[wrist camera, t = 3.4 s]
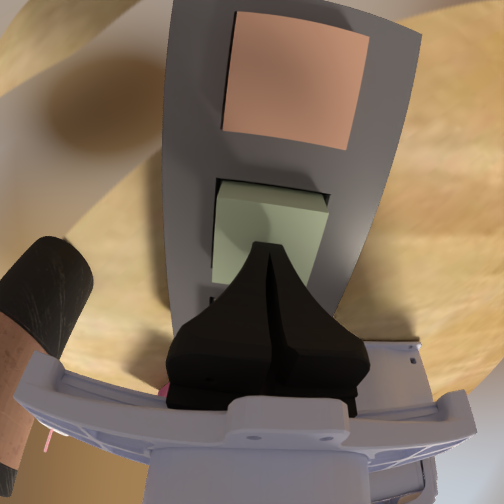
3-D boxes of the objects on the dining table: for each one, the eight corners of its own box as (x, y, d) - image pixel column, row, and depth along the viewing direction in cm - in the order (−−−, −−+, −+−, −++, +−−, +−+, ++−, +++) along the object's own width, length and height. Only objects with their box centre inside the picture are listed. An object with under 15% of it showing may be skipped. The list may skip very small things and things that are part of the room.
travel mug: (89, 240, 20) (-34, 485, 4) (103, 306, 24) (31, 504, 8) (23, 226, 19) (-98, 413, 3) (42, 289, 24) (-38, 454, 8)
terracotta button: (355, 40, 10) (369, 37, 8) (335, 138, 12) (345, 150, 11) (241, 19, 9) (237, 11, 8) (228, 121, 12) (222, 130, 11)
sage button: (321, 194, 14) (329, 213, 13) (300, 269, 17) (304, 293, 16) (223, 180, 14) (216, 197, 12) (217, 259, 17) (212, 282, 15)
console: (396, 37, 11) (422, 34, 8) (306, 336, 25) (308, 364, 23) (191, 0, 10) (175, -12, 8) (182, 321, 25) (175, 349, 22)
